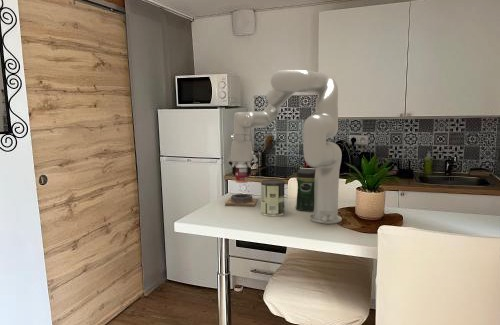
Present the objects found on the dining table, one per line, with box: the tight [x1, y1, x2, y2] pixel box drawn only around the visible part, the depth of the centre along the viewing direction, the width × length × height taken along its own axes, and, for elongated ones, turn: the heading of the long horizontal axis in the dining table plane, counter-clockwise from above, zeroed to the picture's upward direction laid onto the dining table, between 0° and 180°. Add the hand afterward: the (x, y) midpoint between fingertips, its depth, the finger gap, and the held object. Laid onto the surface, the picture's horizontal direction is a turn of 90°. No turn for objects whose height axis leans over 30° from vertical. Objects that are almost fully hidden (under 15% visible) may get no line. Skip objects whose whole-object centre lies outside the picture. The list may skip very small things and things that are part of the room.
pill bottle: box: [234, 162, 249, 184], centre depth 177 cm, size 6×6×11 cm
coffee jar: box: [295, 168, 316, 212], centre depth 166 cm, size 10×8×19 cm
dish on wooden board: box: [224, 193, 258, 208], centre depth 179 cm, size 14×14×4 cm
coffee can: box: [260, 179, 286, 217], centre depth 159 cm, size 10×10×14 cm
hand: (241, 174), depth 178 cm, fingers closed on pill bottle, 6 cm apart
